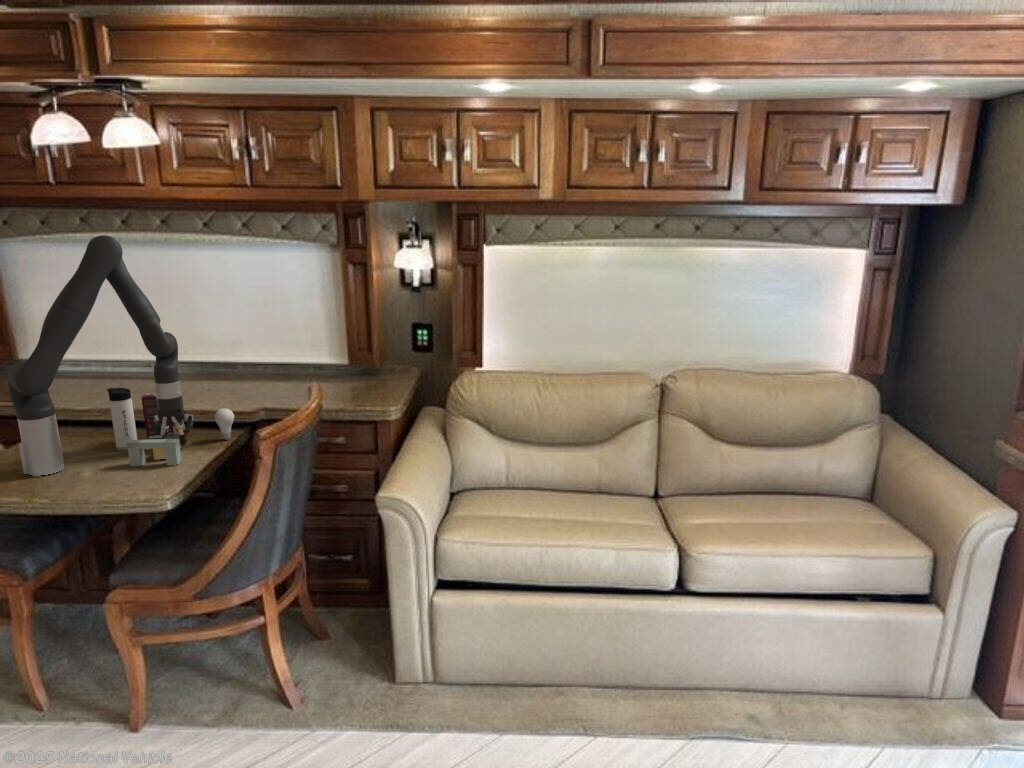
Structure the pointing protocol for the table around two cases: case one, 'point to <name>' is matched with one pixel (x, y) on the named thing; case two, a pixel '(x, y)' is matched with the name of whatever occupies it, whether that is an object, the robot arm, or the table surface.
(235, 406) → the table surface
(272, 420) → the table surface
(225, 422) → the lightbulb
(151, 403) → the supplement box
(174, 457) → the grey-blue bridge block
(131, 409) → the travel mug
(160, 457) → the plug
